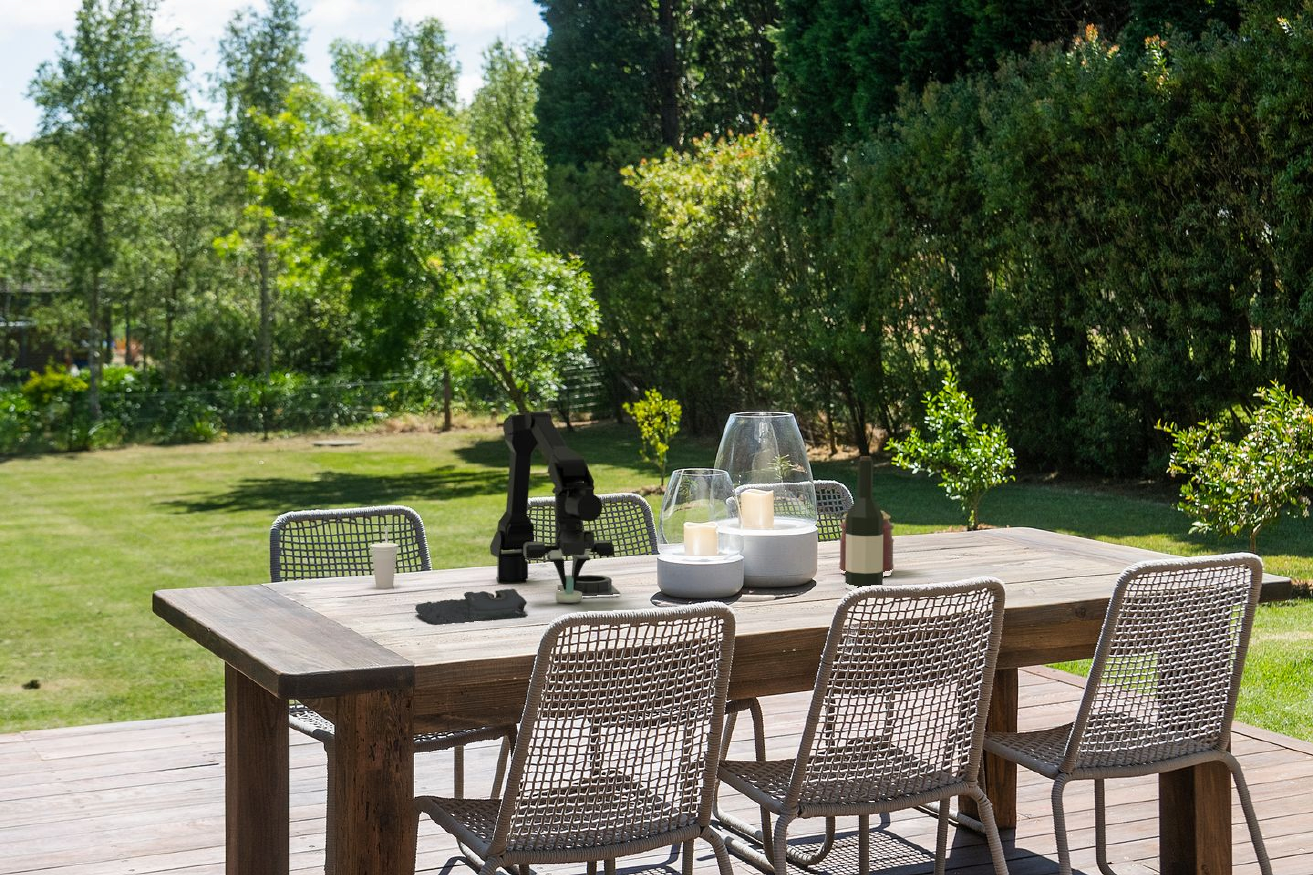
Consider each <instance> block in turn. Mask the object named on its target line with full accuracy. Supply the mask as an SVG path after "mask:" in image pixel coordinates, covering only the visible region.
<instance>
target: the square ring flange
mask: <svg viewBox="0 0 1313 875" xmlns="http://www.w3.org/2000/svg"><path fill="white" fill-rule="evenodd" d="M612 582H613V580H612V578H611V577H610V576H605V575H598V574H597V575H596V574H595V575H594V574H585V575H583V574H582V575H580V574H579V576H578V579H577V582H576V585H575V588H574V589H573V591H580V592H582V596H597V595H613V594H620V595H621V592H620V591H619V590H618V589H617V588H616V587H615V586H614V585H613V584H612ZM557 590H560V591H564V589H563V586H562V584H557Z"/></svg>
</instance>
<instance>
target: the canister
mask: <svg viewBox="0 0 1313 875" xmlns="http://www.w3.org/2000/svg"><path fill="white" fill-rule="evenodd" d="M880 511H881V512H882V514H883V572H885V571H890V570H892V569H893V570H894V566H895V565H894V541H895V540H894V538H893V533H892V532H893V530H894V528H895V525H893V524H892V523H891V522H890V520H889V519H891V515H890V514H887V512H885V511H884V510H881V509H880ZM846 515H847V513H845V514H843V518H844V521H843V522H842V523H840V524H839V527H840V529H841V536H840V537H839V543H840V544H839V547H840V548H839V553H840V554H839V567H838V568H839V570H840V569H841V570H843V571H846Z"/></svg>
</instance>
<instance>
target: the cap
mask: <svg viewBox="0 0 1313 875" xmlns="http://www.w3.org/2000/svg"><path fill="white" fill-rule="evenodd" d="M565 577H566V590H564V591H556V592H555V601H556V602H557V603H558V602H559V603H579V602H582V601H583V598H582V592H580V591H573V577H572V574H570V575H566V574H565Z"/></svg>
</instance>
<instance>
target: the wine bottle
mask: <svg viewBox="0 0 1313 875" xmlns="http://www.w3.org/2000/svg"><path fill="white" fill-rule="evenodd" d="M873 489H874V460H873V459H872V456H870V455H869V456H868V455H867V456H866V455H861V456H860V457H859V459H857V490H856V491H857V495H856V496H857V497H856V498H855V500H854V502H853V504H852V505H851V506H850V508H849V510H848V511H847V512H846V514H847V515H846V572H845V575H844V576H845V578H844V580H845V581H844V582H845V583H847V584H849V585H854V586H858V587H857V588H859V587H862V586H871V585H883V579H884V577H883V514H882V512H881V511H882V510H881V509H880V507H879V506H878V504H877V502H876V500H875V499H874V497H873V496H874V495H873V494H874V490H873ZM880 510H881V511H880ZM845 583H844V584H845Z"/></svg>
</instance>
